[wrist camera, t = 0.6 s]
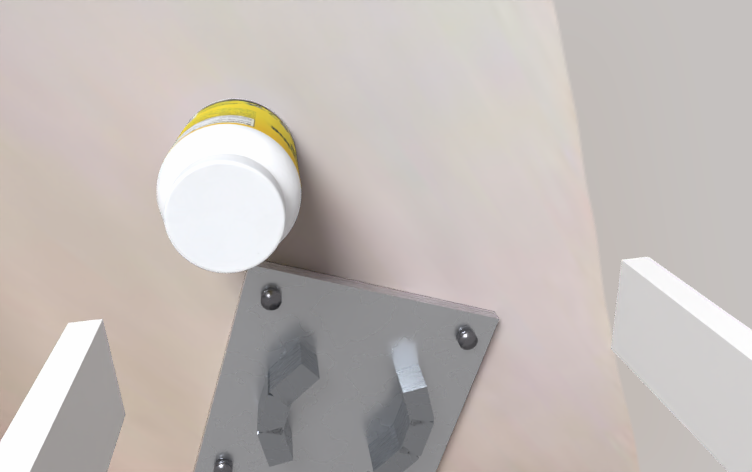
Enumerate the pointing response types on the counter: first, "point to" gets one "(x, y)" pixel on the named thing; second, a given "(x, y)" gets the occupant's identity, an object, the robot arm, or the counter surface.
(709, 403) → the robot arm
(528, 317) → the counter surface
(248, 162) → the pill bottle
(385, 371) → the collar
